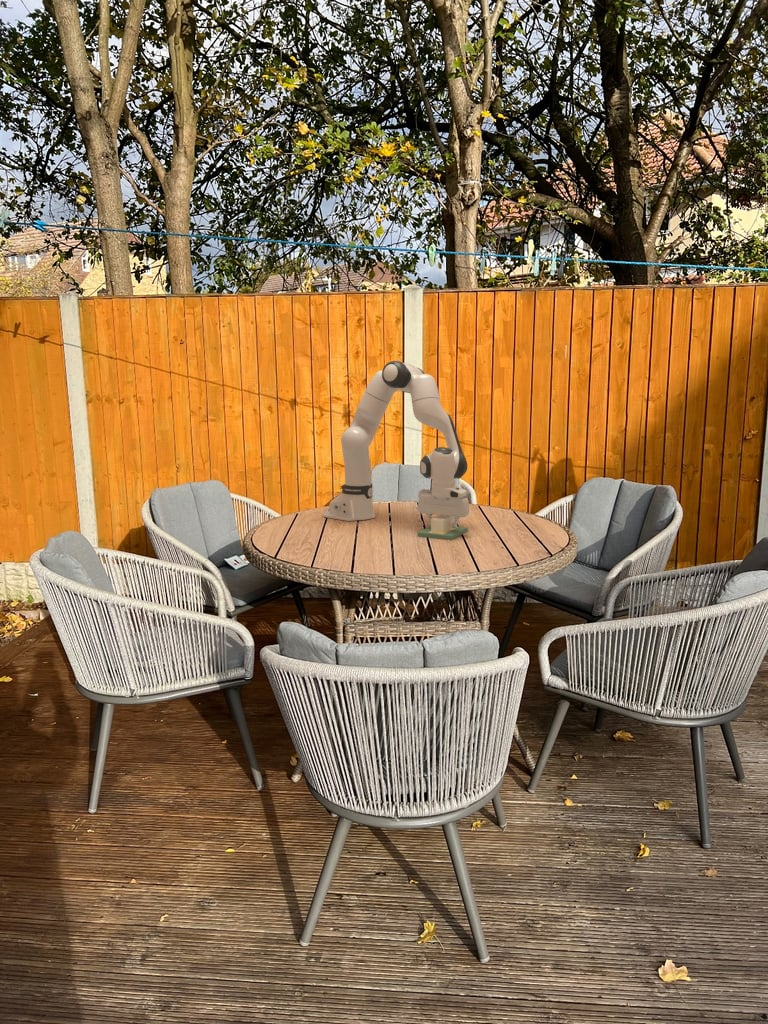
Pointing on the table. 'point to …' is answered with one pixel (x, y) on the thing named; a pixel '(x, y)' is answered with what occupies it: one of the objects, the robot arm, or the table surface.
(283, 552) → the table surface
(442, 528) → the housing
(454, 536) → the header board
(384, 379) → the robot arm
